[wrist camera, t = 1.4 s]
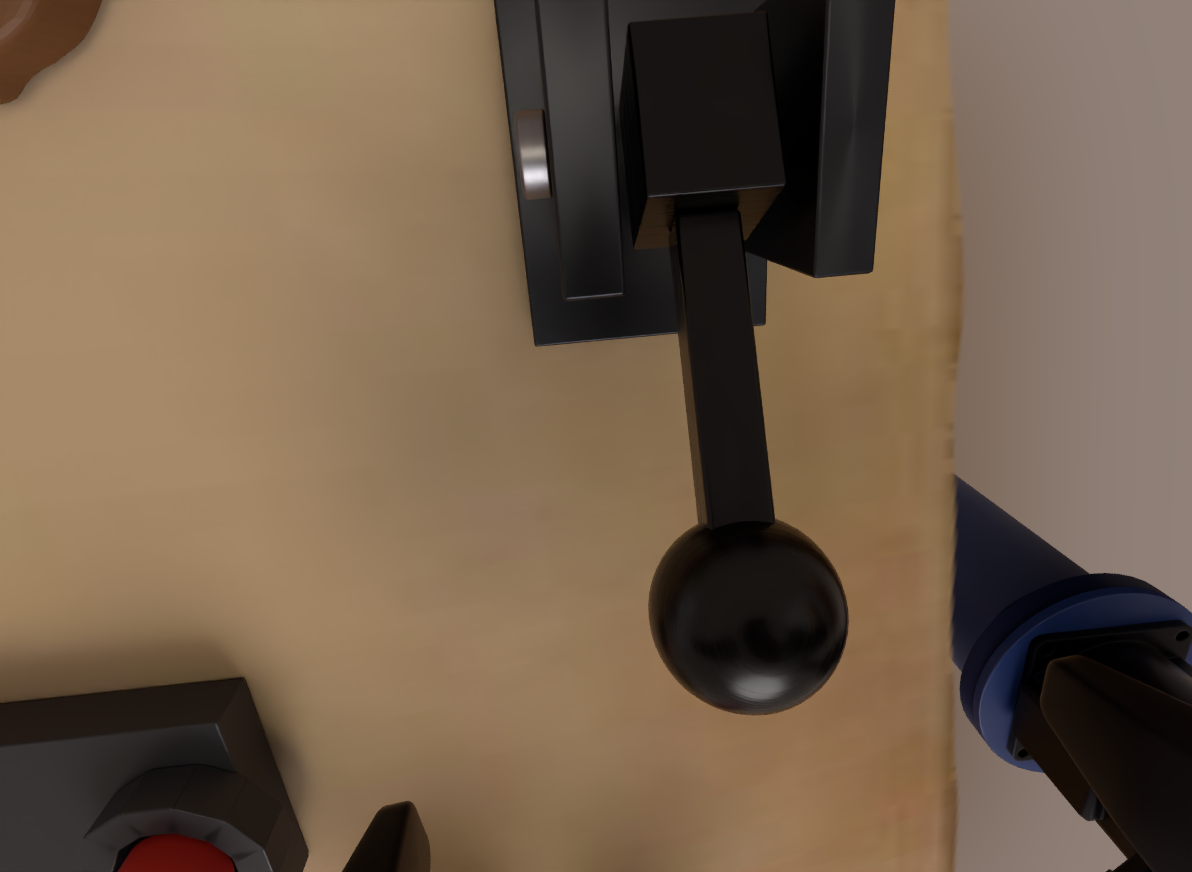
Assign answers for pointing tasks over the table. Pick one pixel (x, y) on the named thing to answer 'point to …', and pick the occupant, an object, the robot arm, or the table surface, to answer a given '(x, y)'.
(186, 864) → the power button
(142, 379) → the table surface
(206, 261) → the table surface
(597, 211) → the switch bracket
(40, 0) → the plant
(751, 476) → the switch lever
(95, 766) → the power base
